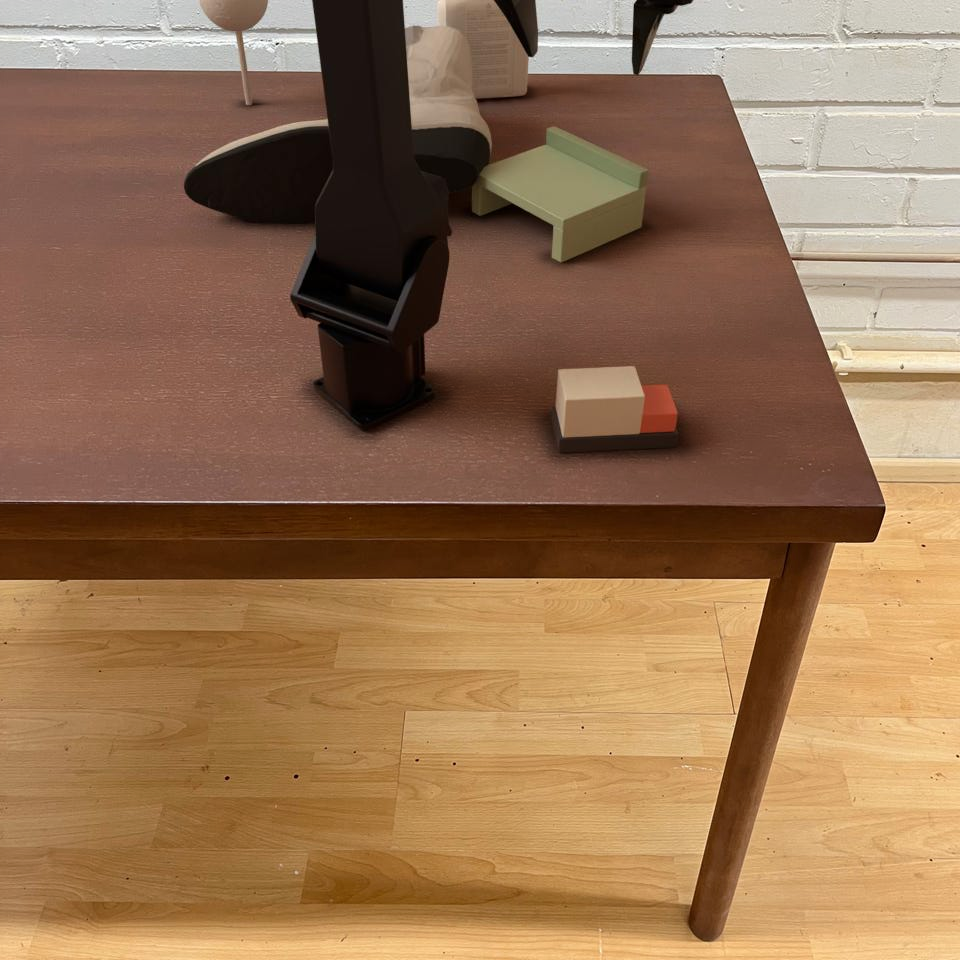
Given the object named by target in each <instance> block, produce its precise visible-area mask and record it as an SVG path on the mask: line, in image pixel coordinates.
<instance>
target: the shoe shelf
mask: <svg viewBox="0 0 960 960" xmlns="http://www.w3.org/2000/svg"><path fill="white" fill-rule="evenodd" d="M545 136H546V137H545V144H543V145H540V146H538V147H535V148H532V149H529V150H526V151H524V152H521V153H518V154H515V155H512V156H510V157H506V158H504V159H501V160H498V161H496V162H495V161H494V162H493V163H489V164H488V165H487V166H485V167H484V168H483V170H482V171H481V173H480V174H479V177H478V179H477V181H476V182H475V183H474V185H473V186H471V212H472V213H474V214H475V215H477V216H479V217H482V216H484V215H487V214H489V213H492V212H494V211H497V210H500V209H502V208H505V207H507V206H509V205H510V206H511V205H512V204H513V205H515V206H517V207H519V208H521V209H522V210H524V211H526V212H527V213H530V214H532V215H534V216H536V217H537V218H539V219H541V220H542V221H544V222H546V223H548V224H550V225H552V227H553V228H552V243H551V244H552V245H551V258H552V259H554V260H555V261H557V262H558V263H564V262H566V261H568V260H570V259H573V258H575V257H577V256H580V255H582V254H584V253H586V252H589V251H591V250H593V249H596V248H598V247H601V246H602V245H605V244H608V243H609V242H611V241H613V240H617V239H619V238H621V237H624V236H625V235H627V234H630V233H632V232H634V231H638V230H639V229H641V228H642V226H643V219H644V210H645V202H646V193H647V184H648V177H649V172H650V171H649V169H647V168H646V167H643V166H641V165H639V164H638V163H635V162H632V161H630V160H628V159H626V158H624V157H622V156H621V155H618V154H615V153H614V152H611V151H609V150H607V149H605V148H603V147H600V146H598V145H596V144H594V143H592V142H589V141H588V140H585V139H583V138H581V137H579V136H577V135H575V134H572V133H570V132H568V131H566V130H563V129H562V128H559V127H557V126H555V125H554V126H551V127H548V128H546V135H545Z"/></svg>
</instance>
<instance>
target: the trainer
mask: <svg viewBox="0 0 960 960" xmlns="http://www.w3.org/2000/svg"><path fill="white" fill-rule="evenodd" d="M555 396H556V397H555V406H551V418H550V419H551V424H552V429H553V435H554V438H555V443H556V447H557V451H558V453H559V454H567V453H568V454H569V453H584V452H585V453H587V452H605V451H624V450H625V451H627V450H644V449H645V450H647V449H667V448H669V449H670V448H676V447H677V444H678V439H679V431H678V428H677V421H678V415H679V412H678V409H677V407H676V405H675V400H674V399H673V396H672V394H671V391H670V388H669V386H668V384H651V385H650V384H649V385H642V384H641V379H640V378H639V374H638V372H637V369H636V366H635V365H627V366H625V365H624V366H607V367H603V366H602V367H581V368H579V367H578V368H561V369H560V368H559V369H558V371H557V382H556V395H555Z"/></svg>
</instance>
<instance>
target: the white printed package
mask: <svg viewBox="0 0 960 960" xmlns="http://www.w3.org/2000/svg"><path fill="white" fill-rule="evenodd" d="M437 26H448V27H452V28H455V29H457V30H459V31H460V32H461V33H462V34H463V35H464V36H465V37H466V39H467V40H468V42H469V45H470V50H471V57H472V78H473V94H474V97H475V99H476V100H477V99H492V98H493V99H494V98H508V97H509V98H511V97H521V96H523V97H524V96H525V95H526V94H527V92H528V78H529V77H528V75H529V59H530V57H529V56H528V55H527V53H526V52H525V50H524V48H523V46H522V45H521V43H520V41H519V39H518V38H517V36H516V34H515V32H514V31H513V29H512V27H511V25H510V24H509V22H508V20H507V19H506V17H505V16H504V14H503V13H502V11H501V10H500V9H499V7H498V6H497V4H496V3H495V2H494V0H438V1H437Z"/></svg>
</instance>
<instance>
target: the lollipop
mask: <svg viewBox="0 0 960 960" xmlns="http://www.w3.org/2000/svg"><path fill="white" fill-rule="evenodd" d="M198 2H199V6H200V9H201V10H202V12H203V14H204V15H205V16H206V17H207V19H208V20H209V21H210V22H212V23H213V24H214V25H216V26H217V27H219V28H221V29H222V30H225V31H229V32H235V38H236V45H237V51H238V59H239V66H240V72H241V78H242V87H243V93H244V100H245V105H246V106H252V105H253V100H252V99H253V98H252V92H251V86H250V85H251V84H250V79H249V71H248V65H247V57H246V50H245V43H244V37H243V32H244V31H247V30H250V29H252V28H253V27H255V26H256V25H258V24H259V22H260V21H261V20H263V18H264V16H265V14H266V11H267V8H268V4H269V0H198Z"/></svg>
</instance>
